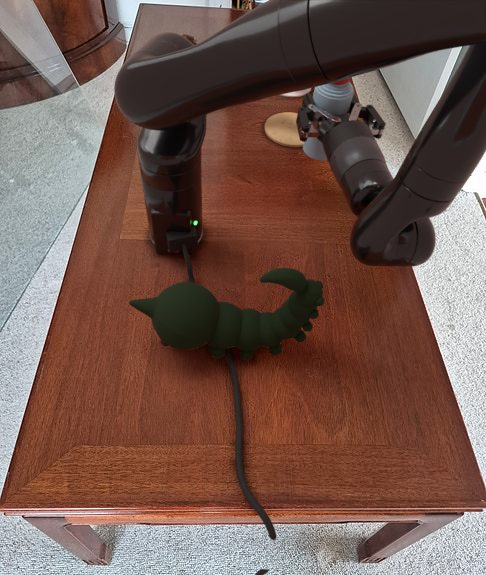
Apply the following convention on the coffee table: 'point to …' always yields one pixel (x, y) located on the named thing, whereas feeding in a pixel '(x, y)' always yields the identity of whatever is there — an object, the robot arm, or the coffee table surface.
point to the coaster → (283, 129)
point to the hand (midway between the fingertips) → (326, 97)
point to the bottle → (334, 102)
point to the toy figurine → (232, 316)
